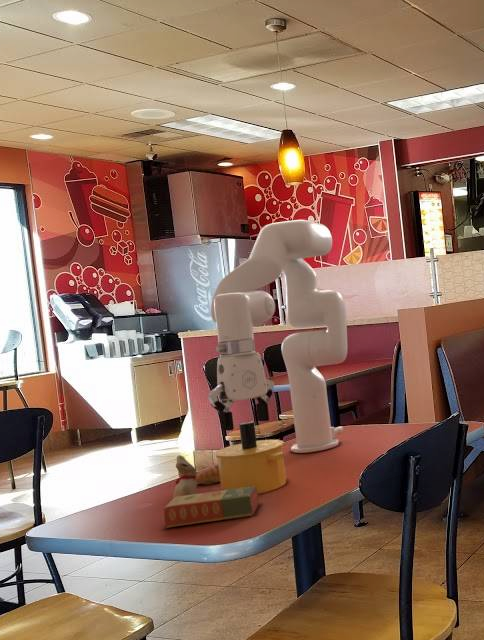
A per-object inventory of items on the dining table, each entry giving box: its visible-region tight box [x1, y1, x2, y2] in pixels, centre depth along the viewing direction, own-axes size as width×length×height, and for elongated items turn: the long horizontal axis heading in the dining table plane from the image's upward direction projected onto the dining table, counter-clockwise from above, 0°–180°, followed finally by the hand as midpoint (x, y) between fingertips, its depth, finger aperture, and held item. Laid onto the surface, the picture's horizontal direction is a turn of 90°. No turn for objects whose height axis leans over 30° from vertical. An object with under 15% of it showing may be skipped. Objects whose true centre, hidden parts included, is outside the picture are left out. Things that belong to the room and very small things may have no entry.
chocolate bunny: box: [172, 454, 198, 499], centre depth 161 cm, size 6×8×10 cm
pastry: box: [196, 463, 220, 485], centre depth 176 cm, size 9×7×4 cm
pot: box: [216, 446, 287, 495], centre depth 165 cm, size 14×19×8 cm
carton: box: [163, 486, 260, 529], centre depth 145 cm, size 8×16×4 cm, turn 98°
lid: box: [214, 420, 285, 458], centre depth 165 cm, size 15×15×7 cm
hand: (246, 425), depth 165 cm, fingers open, 9 cm apart
